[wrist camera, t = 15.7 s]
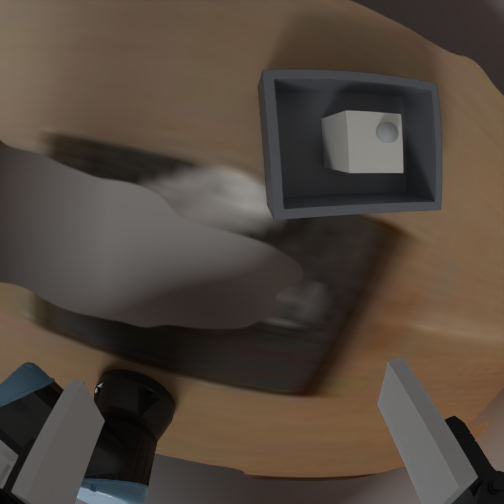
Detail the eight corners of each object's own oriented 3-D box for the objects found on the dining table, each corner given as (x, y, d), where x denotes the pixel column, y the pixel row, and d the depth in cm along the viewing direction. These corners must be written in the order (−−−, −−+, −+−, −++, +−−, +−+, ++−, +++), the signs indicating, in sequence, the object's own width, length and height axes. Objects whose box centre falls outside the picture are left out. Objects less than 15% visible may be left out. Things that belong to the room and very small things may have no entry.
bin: (267, 205, 38) (274, 219, 30) (257, 86, 33) (262, 70, 25) (408, 197, 38) (441, 209, 30) (404, 91, 33) (437, 83, 25)
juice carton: (324, 167, 35) (353, 174, 26) (321, 118, 33) (349, 109, 24) (368, 166, 35) (408, 174, 26) (366, 120, 33) (405, 113, 24)
